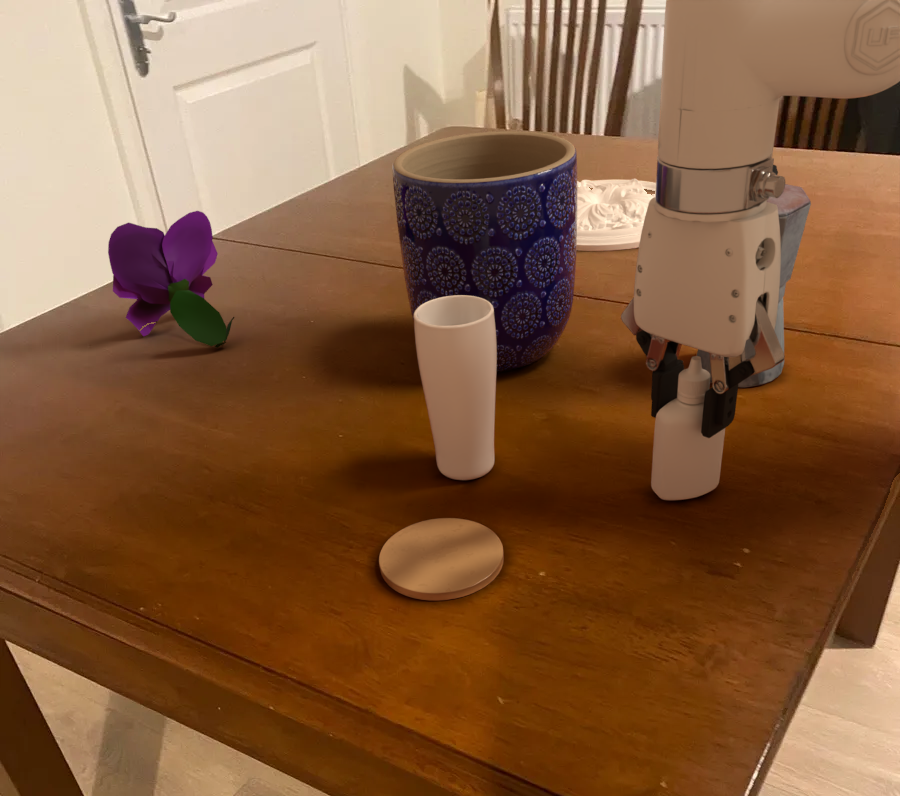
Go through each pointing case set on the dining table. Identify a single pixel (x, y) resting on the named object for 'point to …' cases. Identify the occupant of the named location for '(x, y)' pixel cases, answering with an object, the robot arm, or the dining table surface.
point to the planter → (493, 231)
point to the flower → (168, 276)
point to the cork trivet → (441, 559)
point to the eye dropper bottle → (686, 441)
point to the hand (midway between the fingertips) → (690, 418)
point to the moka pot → (792, 225)
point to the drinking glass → (459, 381)
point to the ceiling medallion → (611, 213)
